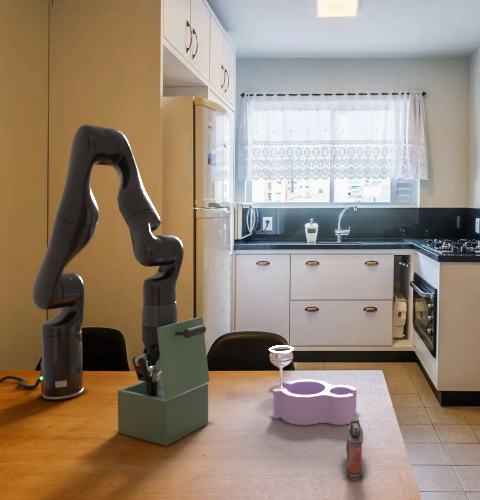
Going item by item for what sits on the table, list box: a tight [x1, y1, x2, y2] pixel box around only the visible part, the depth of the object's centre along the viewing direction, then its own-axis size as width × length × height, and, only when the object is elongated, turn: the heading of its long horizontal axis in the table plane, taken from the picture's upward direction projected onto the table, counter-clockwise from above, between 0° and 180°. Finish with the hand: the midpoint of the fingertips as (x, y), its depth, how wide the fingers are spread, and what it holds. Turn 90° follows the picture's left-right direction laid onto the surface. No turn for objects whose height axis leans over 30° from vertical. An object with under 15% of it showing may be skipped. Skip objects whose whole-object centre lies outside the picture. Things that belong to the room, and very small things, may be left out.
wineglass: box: [268, 345, 294, 392], centre depth 141 cm, size 7×7×12 cm
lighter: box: [345, 416, 364, 481], centre depth 98 cm, size 8×3×10 cm, turn 5°
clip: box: [272, 379, 357, 426], centre depth 124 cm, size 20×12×7 cm, turn 80°
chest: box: [117, 374, 209, 447], centre depth 114 cm, size 15×13×10 cm
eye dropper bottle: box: [156, 372, 165, 399], centre depth 115 cm, size 4×6×12 cm
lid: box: [157, 316, 210, 400], centre depth 110 cm, size 16×13×5 cm
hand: (160, 393), depth 115 cm, fingers closed on eye dropper bottle, 4 cm apart
